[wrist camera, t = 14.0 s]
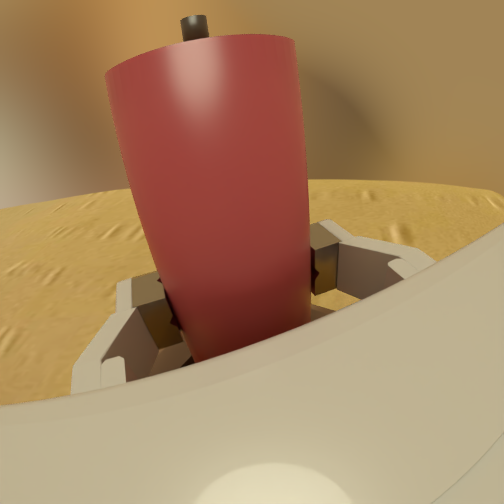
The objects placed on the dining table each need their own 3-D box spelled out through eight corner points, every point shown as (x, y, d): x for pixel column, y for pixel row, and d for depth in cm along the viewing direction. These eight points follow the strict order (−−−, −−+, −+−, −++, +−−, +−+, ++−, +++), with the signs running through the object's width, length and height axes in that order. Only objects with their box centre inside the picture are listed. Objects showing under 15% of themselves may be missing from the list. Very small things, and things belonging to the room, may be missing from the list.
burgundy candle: (202, 422, 11) (58, 46, 4) (227, 349, 15) (156, 46, 7) (303, 435, 10) (275, -30, 3) (312, 355, 14) (294, 20, 6)
